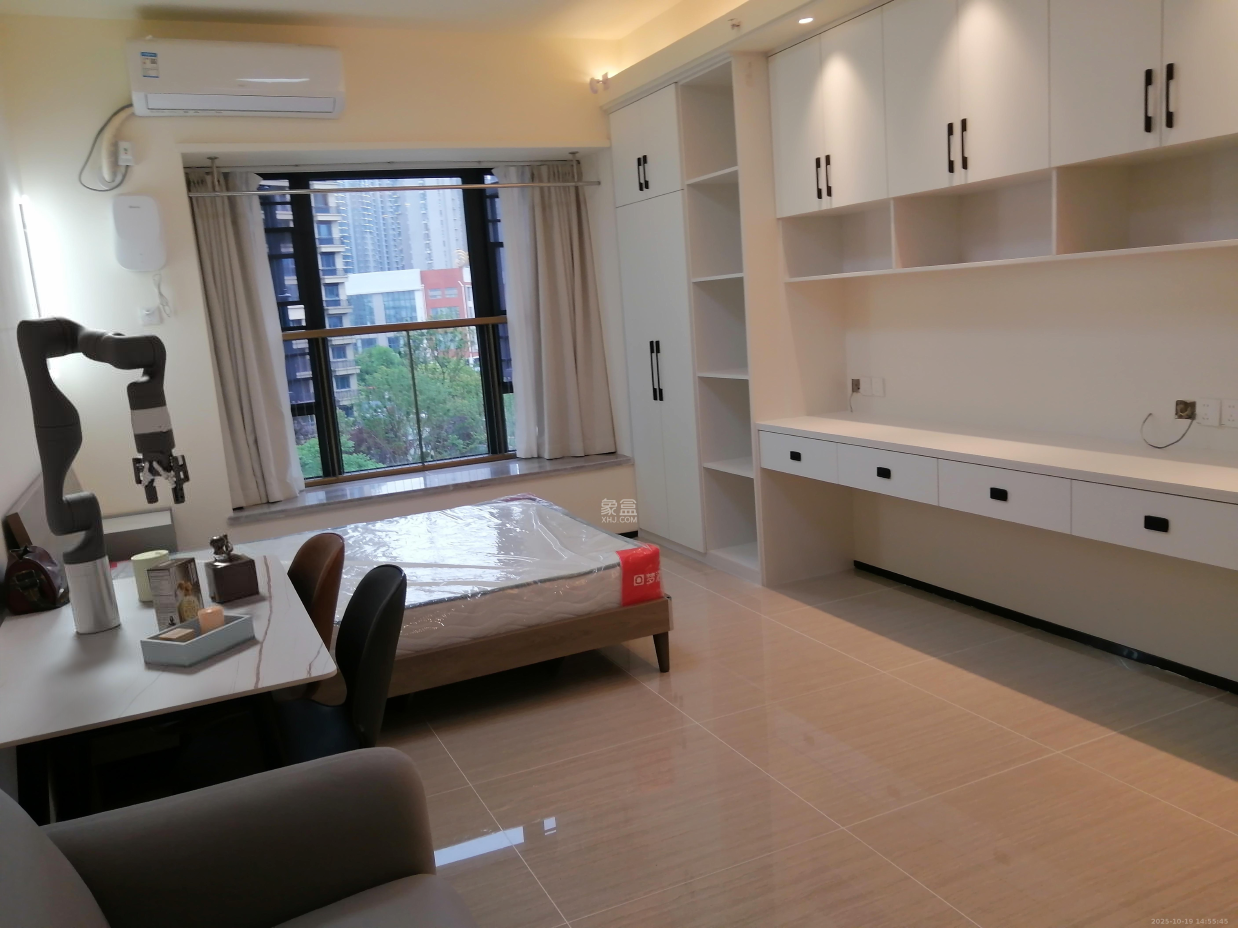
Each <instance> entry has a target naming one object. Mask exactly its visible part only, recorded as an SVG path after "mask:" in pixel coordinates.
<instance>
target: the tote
mask: <svg viewBox="0 0 1238 928" xmlns="http://www.w3.org/2000/svg"><path fill="white" fill-rule="evenodd" d="M223 614H224V620H225V626H223V627H221V628H218V629H216V630H214V631H211V632H209V633H207V634H204V635H202V633H201V628H200V622H199V617H196V618H193V619H191V620H188V621H186V622H184V623H181V624H179V625H176V626H174V627H171V628H169V629H166V630H164V631H161V632H156V633H154V634H152V635H149V636H147V637H143V638H142V639H140V640H139V641H140V642H139V643H140V647H141V653H142V657H143V662H144V663H145V664H153V665H154V664H156V665H161V666H171V667H178V668H190V667H194V665H198V664H200V663H202V662H203V661H205V660H206V661H207V660H208V659H210V658H211V659H212V657H215V656H217V655H219V654H221V653H224V652H226V651H228V650H230V649H232V648H234V647H237V646H238V645H241V644H243V643H246V642H248V641H250V640H252V639H255V638H256V636H255V629H254V624H253V617H252V615H249V614H248V615H247V614H246V615H245V614H236V613H235V614H234V613H224V612H223ZM178 628H180V629H191V630H194V631H195V636H196V638H195V639H193V640H190V641H188V642H186V643H180V642H170V641H160V640H159V639H158V636H161V635H163V634H166V633H168V632H171V631H173V630H175V629H178Z"/></svg>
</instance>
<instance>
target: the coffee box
mask: <svg viewBox="0 0 1238 928" xmlns="http://www.w3.org/2000/svg"><path fill="white" fill-rule="evenodd" d="M196 563H197V562H196V557H195V556H193V557H192V556H191V557H178V558H177V557H176V558H169V560H168V561H166V562H163V563H161V564H158V565H156V566H154V567H152V568H149V569H147V574H148V579H149V583H150V588H151V593H152V598H153V601H152V602H153V607H154V610H155V611H154V612H155V617H156V621H157V627H158V631H159V632H161V631H164V630H166V629H169V628H171V627H174V626H176V625H179V624H181V623H184V622H186V621H188V620H191V619H193V618H196V617H198V611H200V610H202V609H204V608H205V605H204V599H203V598H204V597H203V595H202V587H201V584H200V578H199V574H198V568H197V564H196ZM159 632H158V633H159Z"/></svg>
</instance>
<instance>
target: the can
mask: <svg viewBox="0 0 1238 928" xmlns="http://www.w3.org/2000/svg"><path fill="white" fill-rule="evenodd" d="M130 560H131V564H132V568H133V573H134V579H135V585H136V589H137V595H138V596H137V597H138V599H137V600H138V601H140V602H153V598H152V593H151V588H150V583H149V579H148V574H147V569H149V568H152V567H154V566H156V565H158V564H161V563H163V562H166V561H168V560H170V555H169V550H166V549H159V550H152V551H151V550H150V551H145V552H142V553H139V554H136V555H134V556H132V557H131V558H130Z"/></svg>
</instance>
